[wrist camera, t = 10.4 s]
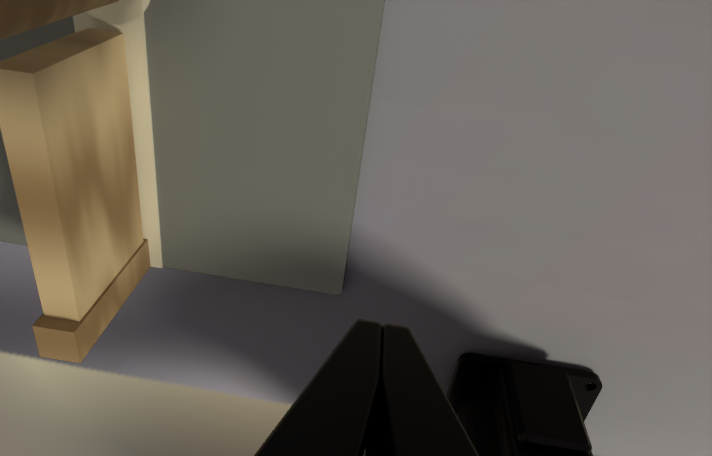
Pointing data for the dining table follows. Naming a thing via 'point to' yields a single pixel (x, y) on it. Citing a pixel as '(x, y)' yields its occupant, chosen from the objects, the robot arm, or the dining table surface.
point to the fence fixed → (73, 172)
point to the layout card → (238, 130)
